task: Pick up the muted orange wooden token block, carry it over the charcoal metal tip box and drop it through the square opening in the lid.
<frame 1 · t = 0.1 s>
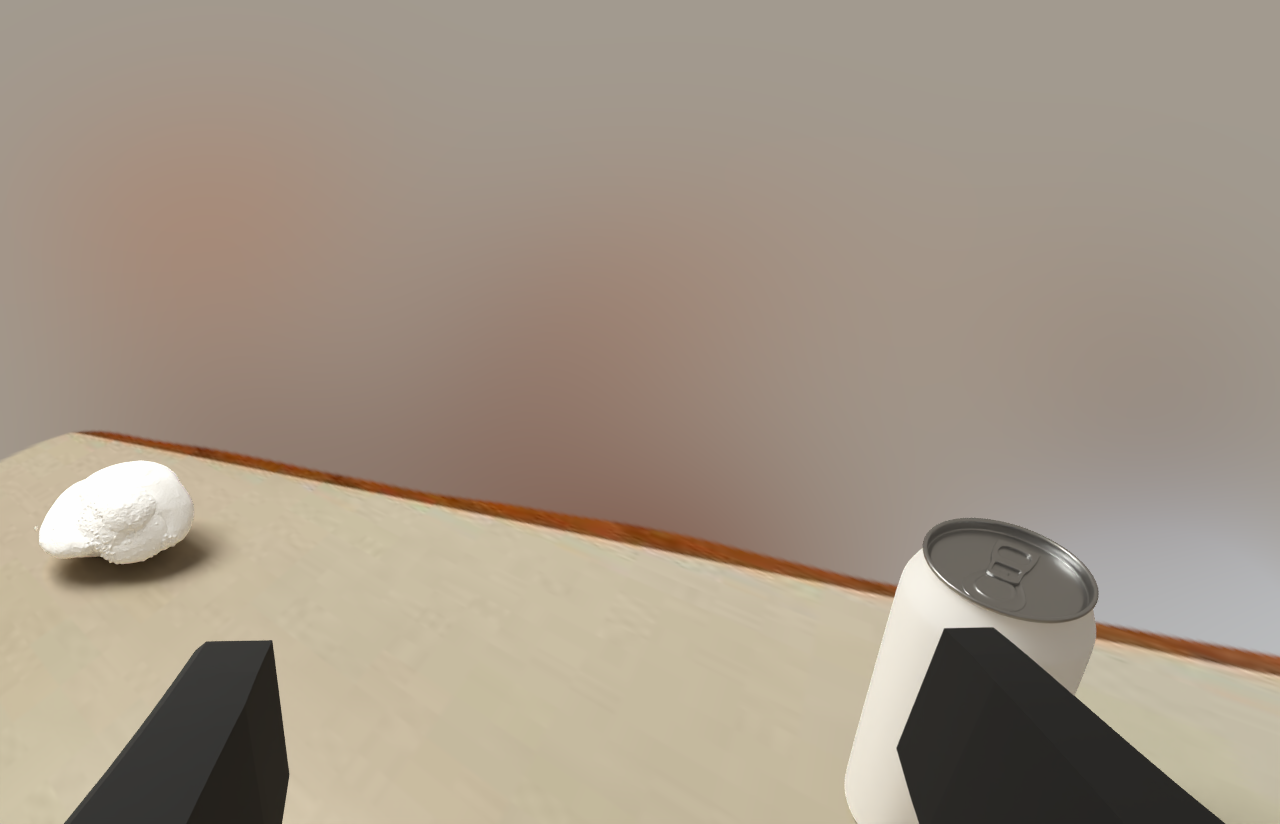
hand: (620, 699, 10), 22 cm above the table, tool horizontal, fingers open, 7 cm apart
can: (922, 814, 35), on the table
dumpling: (123, 555, 45), on the table
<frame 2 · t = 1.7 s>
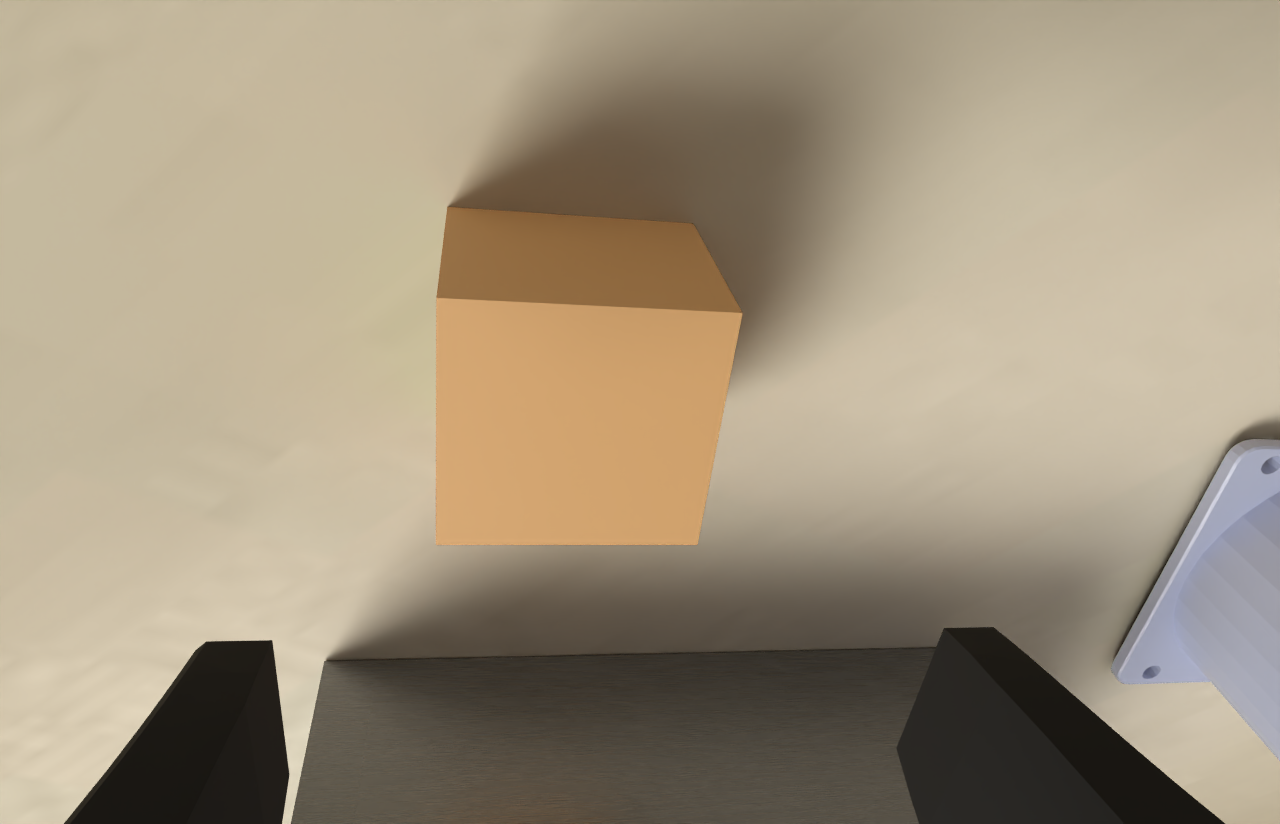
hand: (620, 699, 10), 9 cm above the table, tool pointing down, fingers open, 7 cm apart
token: (563, 323, 18), on the table
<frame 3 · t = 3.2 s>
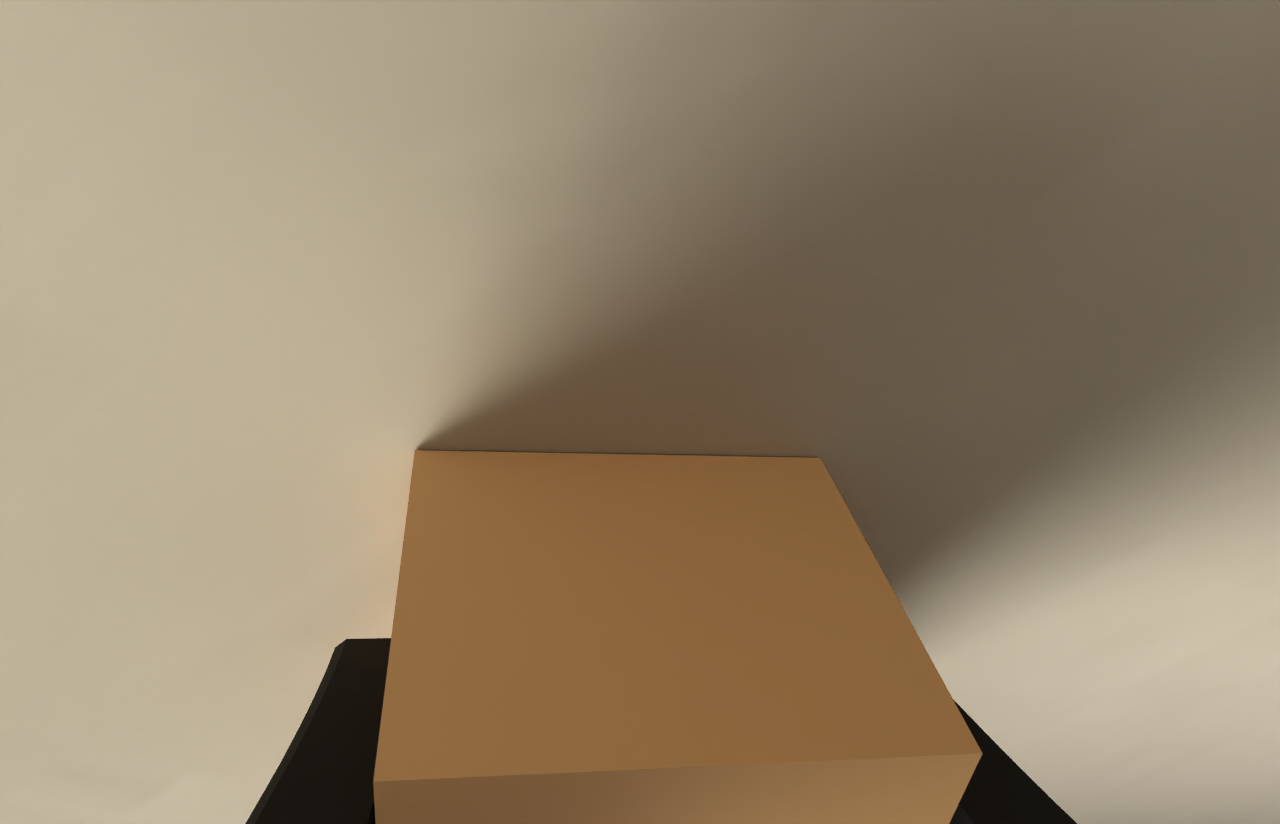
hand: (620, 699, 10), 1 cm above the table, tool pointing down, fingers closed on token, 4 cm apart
token: (605, 606, 11), on the table, touching gripper
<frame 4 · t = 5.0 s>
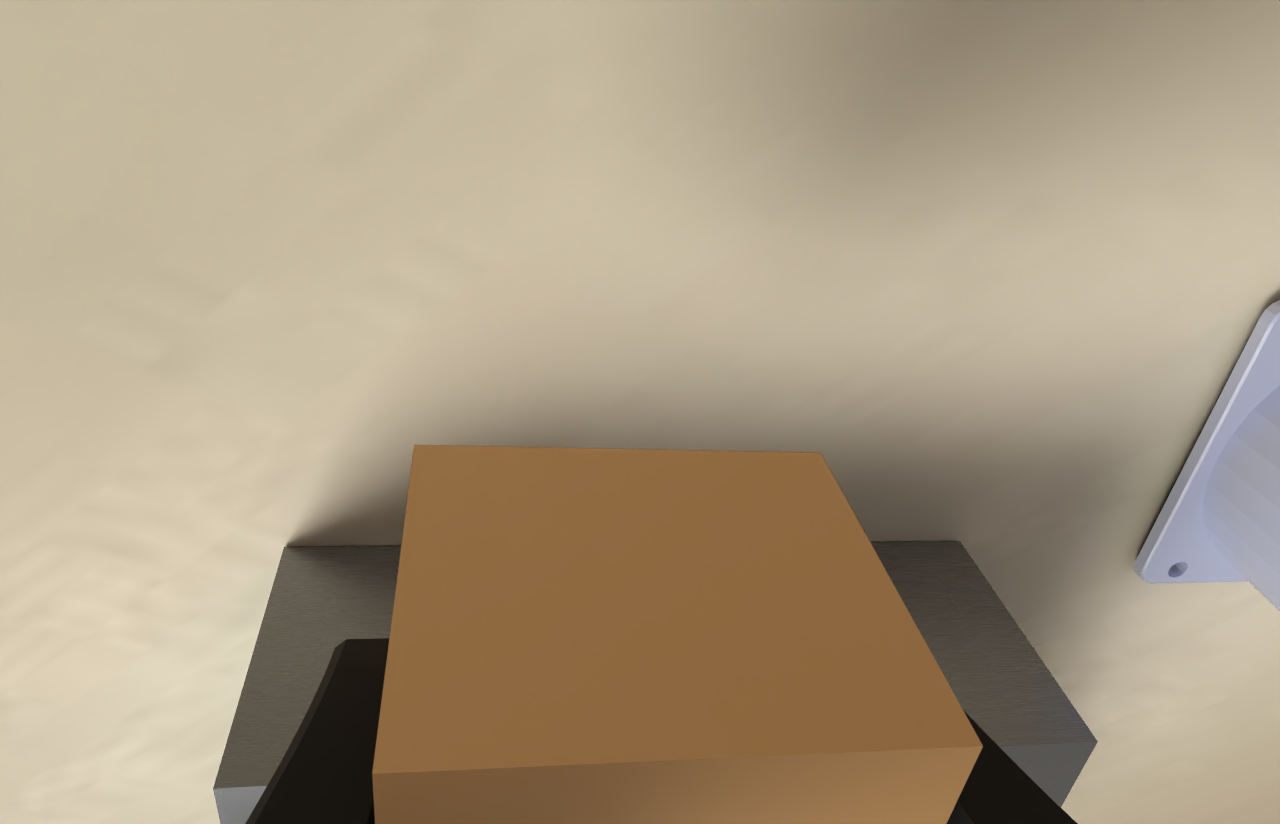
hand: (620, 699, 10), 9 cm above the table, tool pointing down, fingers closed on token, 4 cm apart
tip box: (616, 742, 25), on the table
token: (605, 601, 11), point 8 cm above the table, touching gripper
when the fingers open (8 cm above the table, at t = 6.7 s): token drops 6 cm, resting on tip box.
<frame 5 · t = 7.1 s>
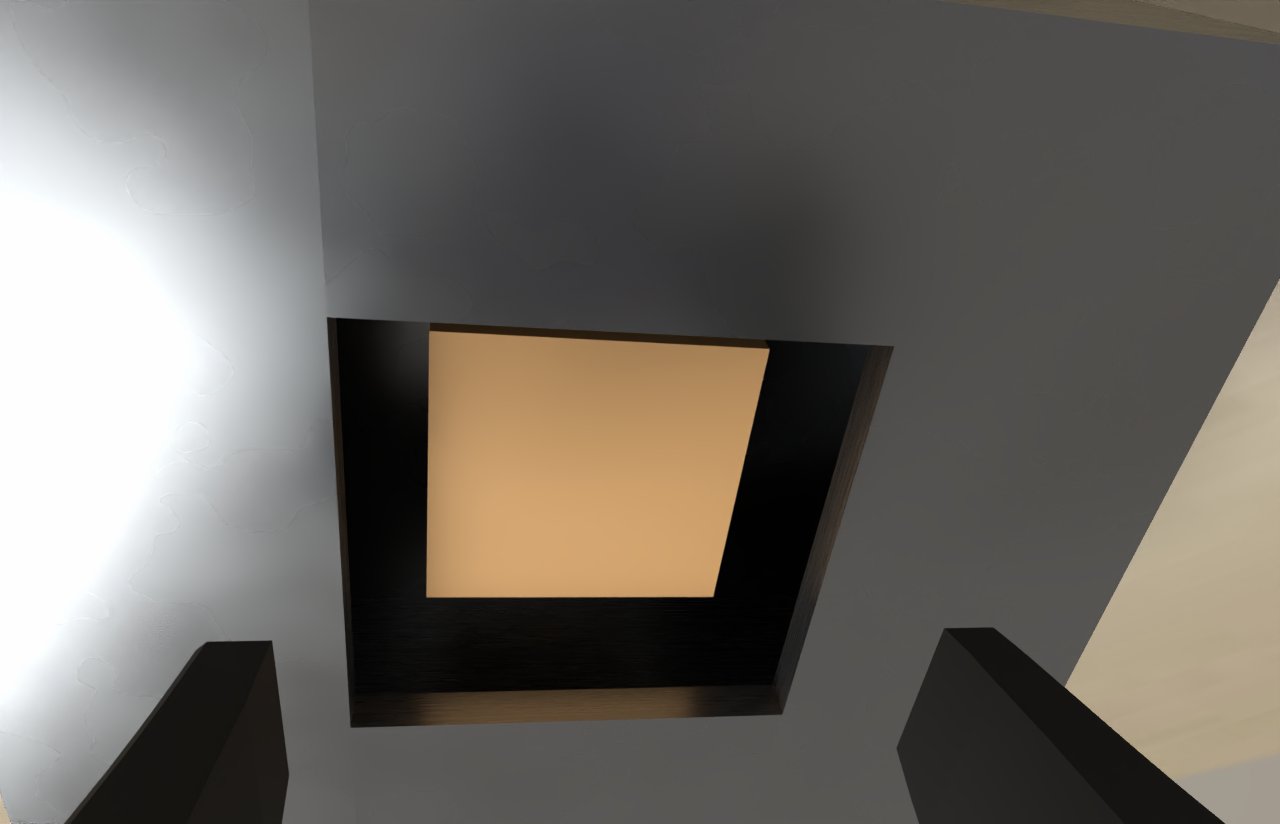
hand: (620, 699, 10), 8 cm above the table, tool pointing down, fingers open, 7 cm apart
tip box: (565, 344, 17), on the table
token: (568, 350, 16), point 1 cm above the table, touching tip box
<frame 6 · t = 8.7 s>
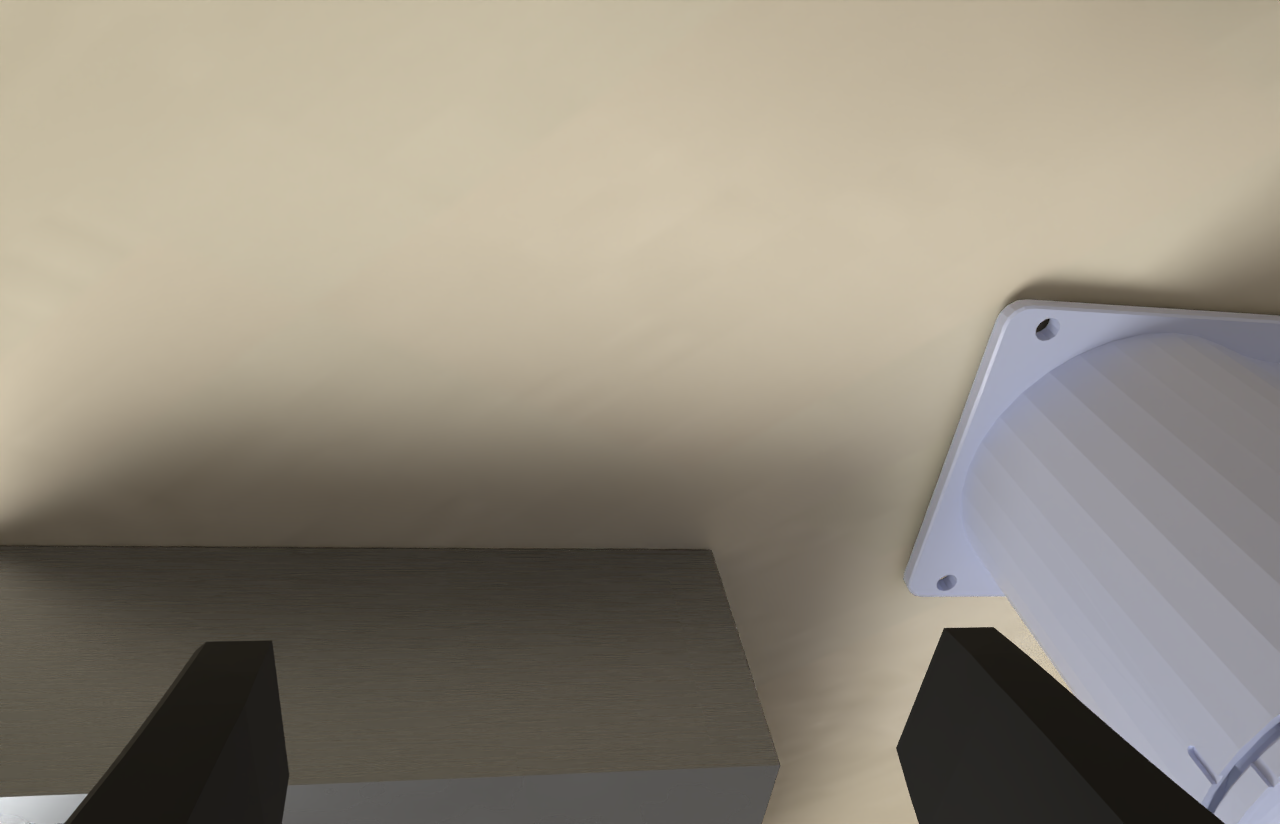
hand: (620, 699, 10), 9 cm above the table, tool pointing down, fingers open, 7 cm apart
tip box: (371, 755, 23), on the table
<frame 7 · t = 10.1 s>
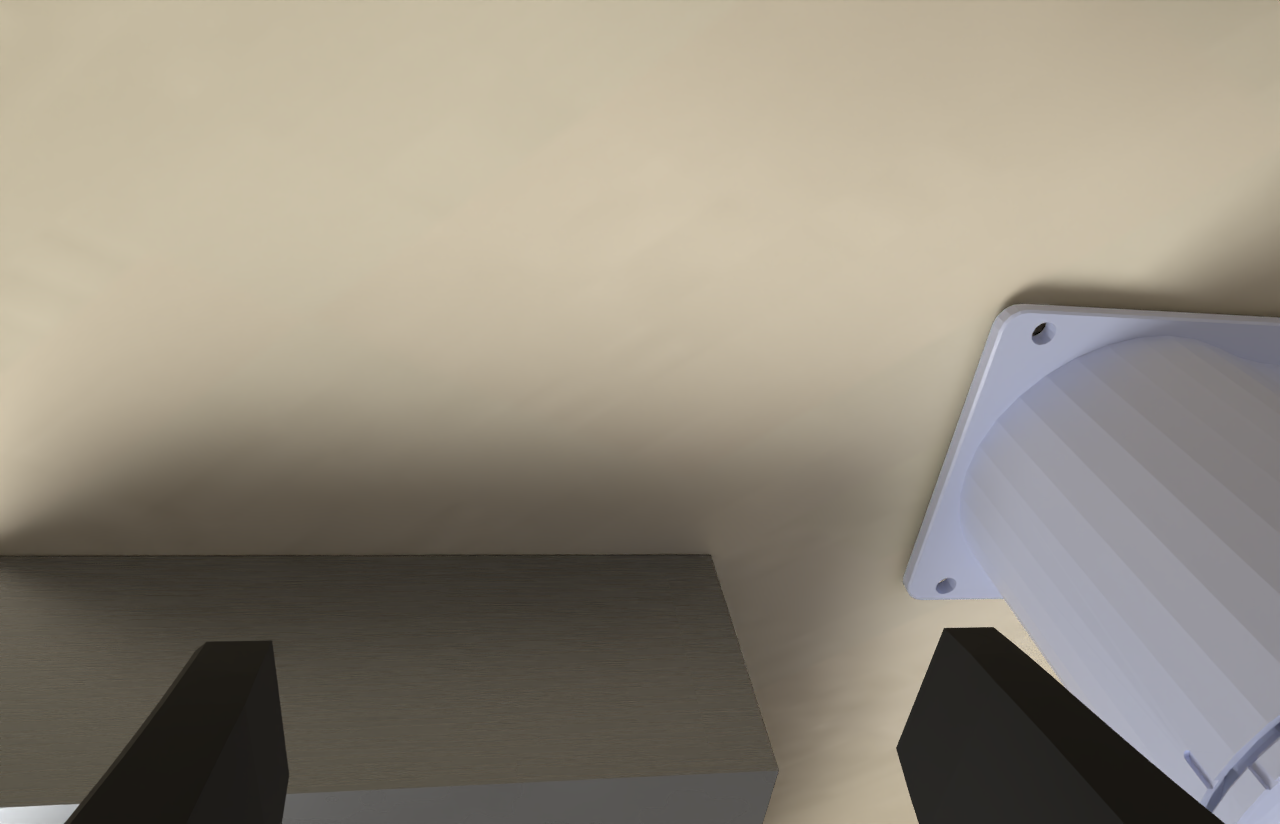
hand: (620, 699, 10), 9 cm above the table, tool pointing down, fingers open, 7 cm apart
tip box: (374, 760, 24), on the table
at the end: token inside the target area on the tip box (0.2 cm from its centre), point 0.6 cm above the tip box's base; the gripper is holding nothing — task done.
